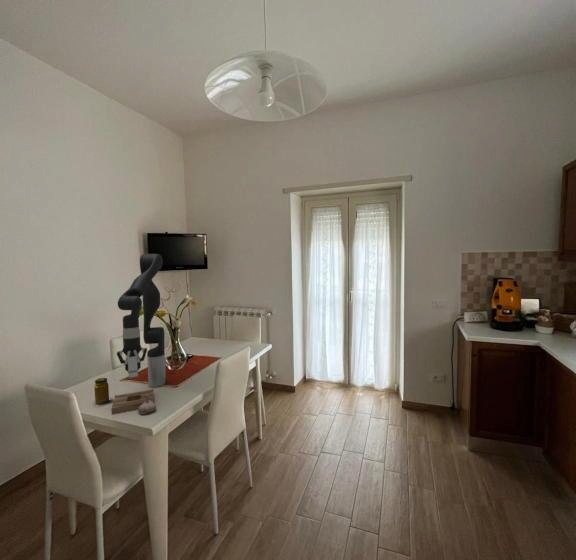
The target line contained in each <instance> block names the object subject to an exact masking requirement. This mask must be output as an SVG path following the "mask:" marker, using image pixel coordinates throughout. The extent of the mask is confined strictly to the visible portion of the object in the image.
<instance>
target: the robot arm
mask: <svg viewBox="0 0 576 560" xmlns="http://www.w3.org/2000/svg"><path fill="white" fill-rule="evenodd" d="M162 267H163V256H162V255H161V254H159V253H142V254H141V255H140V257H139V268H140V269H139V270H140V275H138V276H136V278H135V279H134V280H133V281H132V283H131V284H130V287H129V288H128V289H127V290H126V291H124V293H123V294H121V295H120V297H119V299H118V300H117V307H118V309H119V310H121V311H131V313H130V314H127V315H126V314H125V315H124V316H123V317H122V344H123V346H122V347H123V348H122V350H118V351H117V352H116V356H117V358H118V360H119V362H120V364H122V365H123V364H124V367H125V368H124V369H125V371H126V372H128V357H132V356H137V369H138V371H140V369H141V362H143V361H145V358H147V375H148V376H147V377H148V378H147V379H148V380H147V381H148V382H147V383H148V387H150V388H158V387H162V386H164V385H166V384H165V383H167V380H166V375H167V374H166V353H165V352H166V351H165V328H164V327H162V326H157V327H151V324H152V320H153V318H154V317H155V315H156V313H157V312H158V310H159V308H160V307H161V293H160V290H159V289H158V287H157V285H156V284H155V283H154V281H153V279H154V278H155V277H156V275H157V274H158V273H159V271H161V269H162ZM141 297H142V298H141ZM142 309H143V310H142ZM141 310H142V311H143V335H142V336H143V337H142V338H143V342H144V344H145V345H153V344H157V345H156V346H155V347H152V348H151V349H149V350H148V348H147V347H145V348H144V347H142V346H141V331H140V322H139V321H140V320H139V318H140V313H141ZM140 352H141V353H142V355H141V358H140V354H139V353H140ZM123 354H124V355H125V356H126V357H125V359H123ZM146 356H147V357H146Z"/></svg>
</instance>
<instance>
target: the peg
mask: <svg viewBox="0 0 576 560" xmlns="http://www.w3.org/2000/svg"><path fill="white" fill-rule="evenodd" d="M138 376H139V370H138V369H137V356H132V357H128V378H135V377H138Z"/></svg>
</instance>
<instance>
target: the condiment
mask: <svg viewBox="0 0 576 560" xmlns="http://www.w3.org/2000/svg"><path fill="white" fill-rule="evenodd" d="M94 382H95V383H94V401H93V404H94V406H95V407H96V408H98V407H100V406H104V405H107V404H113V401H114V397H113V396H112V397H110V391H109V390H110V389H109V383H108V378H107V377H100V378H97V379H95V380H94ZM109 399H110V400H109Z"/></svg>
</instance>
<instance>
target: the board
mask: <svg viewBox="0 0 576 560" xmlns="http://www.w3.org/2000/svg"><path fill="white" fill-rule="evenodd" d="M147 395H148V396H149V399H148V401H149V400H150V401H153V402H154V403H155V400H154V398H155V397H154V396H155V392H154V389H153V388H152V389H147V390H146V389H145V390H140V391H136V392H129V393H122V394H115V395H114V397H113V399H114V401H113V402H112V405H111V415H115V413H117V414H120V413H121V412H122V413H127V411H128V412H132V411H138V408H139V406H140V405H142V404H143V403H144V402H145V401H146V396H147ZM122 413H121V414H122Z"/></svg>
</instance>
